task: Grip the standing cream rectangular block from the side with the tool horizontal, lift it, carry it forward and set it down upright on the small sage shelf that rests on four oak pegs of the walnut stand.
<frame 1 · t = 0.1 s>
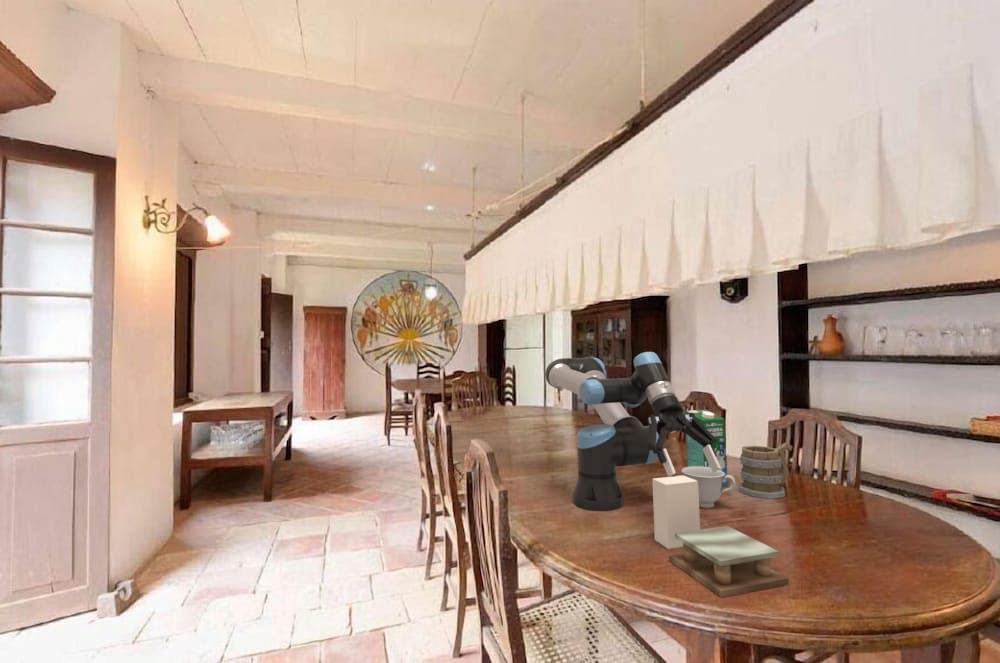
hand: (694, 472, 117), 15 cm above the table, tool tilted 35°, fingers open, 13 cm apart
teacup: (709, 506, 136), on the table
peg shelf: (725, 571, 96), on the table
tankard: (770, 491, 148), on the table
cream rectangular block: (677, 541, 112), on the table
milk carton: (707, 483, 159), on the table
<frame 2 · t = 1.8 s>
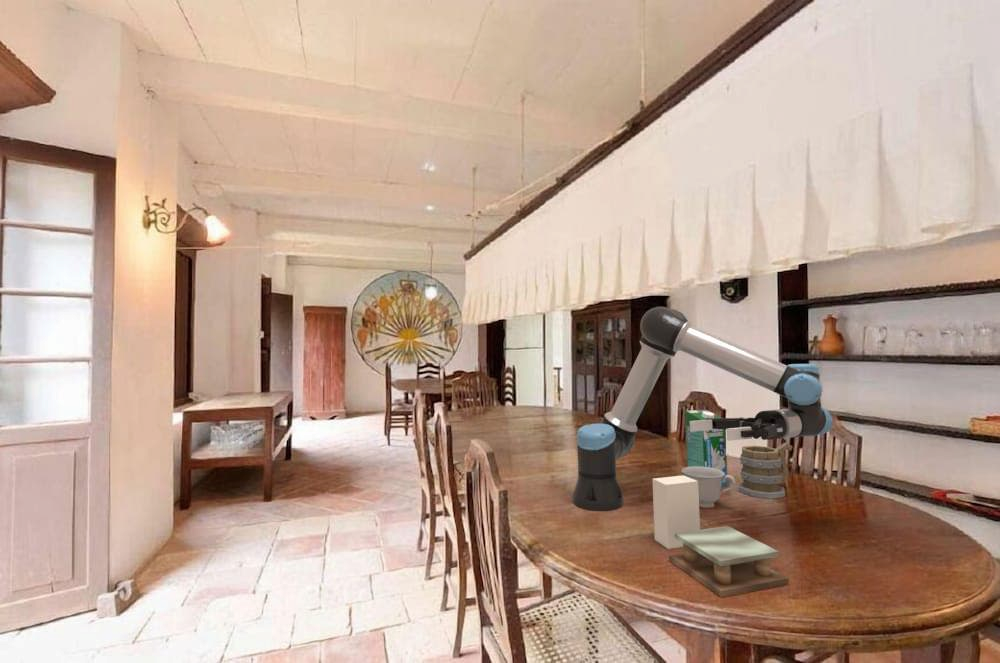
hand: (708, 430, 115), 26 cm above the table, tool horizontal, fingers open, 13 cm apart
nothing on the table moved.
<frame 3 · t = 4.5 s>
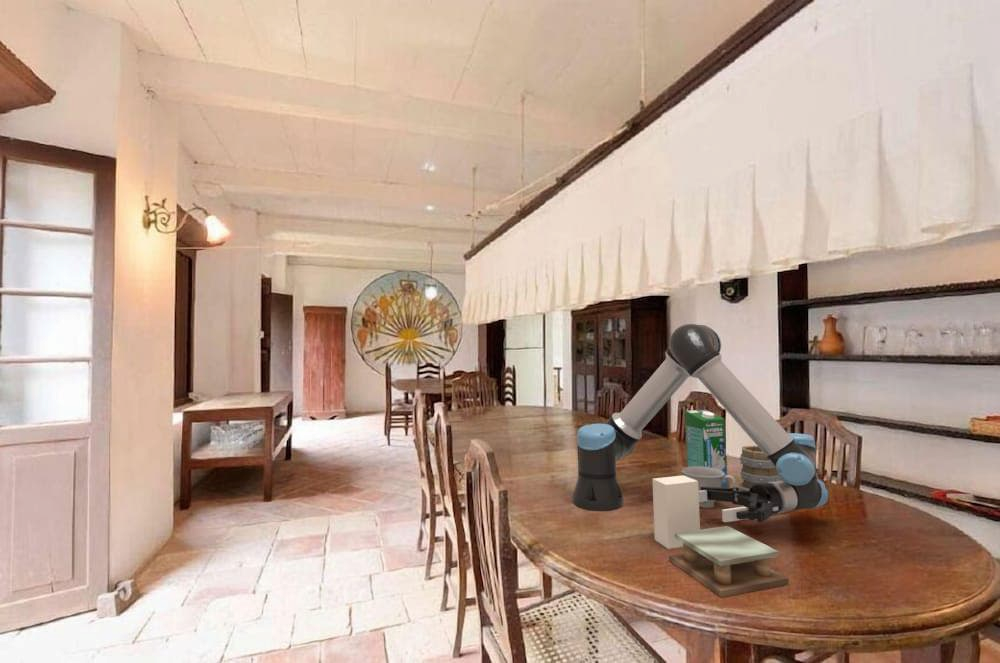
hand: (703, 506, 113), 8 cm above the table, tool horizontal, fingers open, 13 cm apart
nothing on the table moved.
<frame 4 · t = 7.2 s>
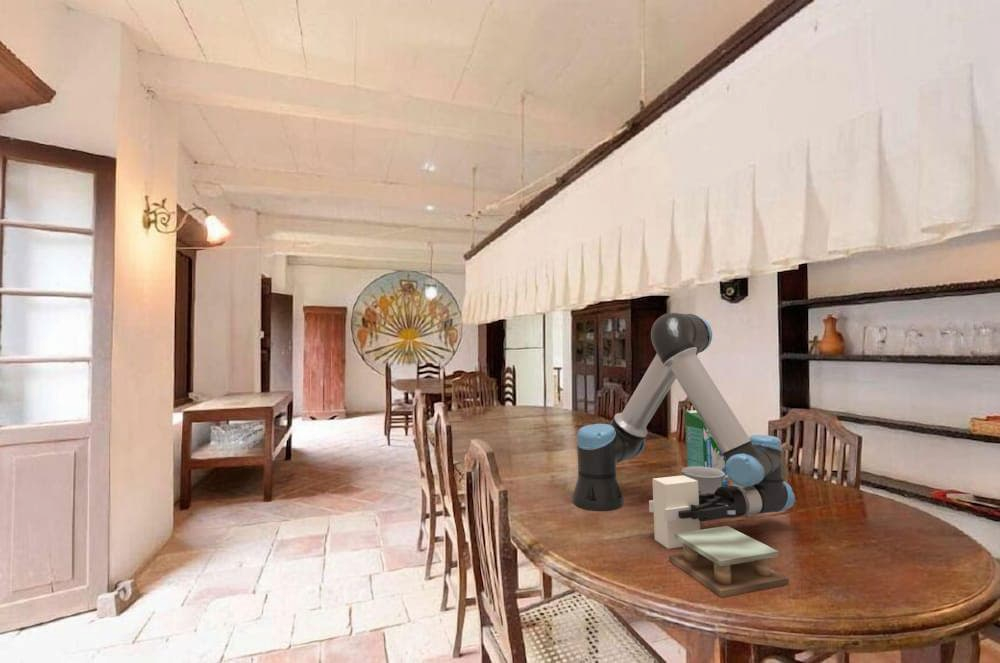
hand: (657, 510, 111), 8 cm above the table, tool horizontal, fingers closed on cream rectangular block, 5 cm apart
cream rectangular block: (677, 541, 112), on the table, touching gripper
everything else where it was.
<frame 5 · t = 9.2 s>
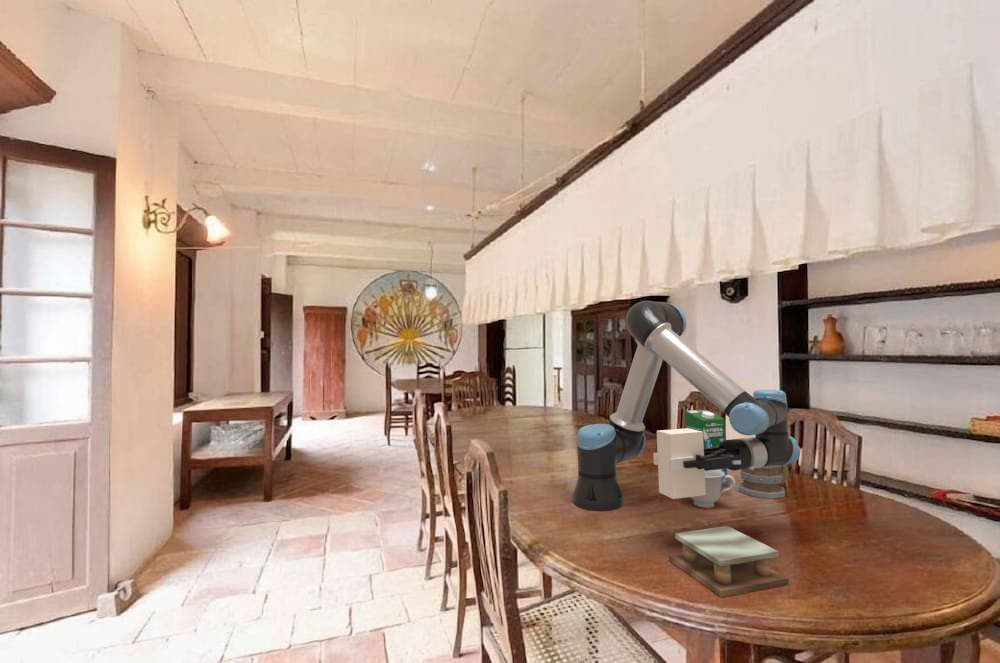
hand: (662, 461, 109), 20 cm above the table, tool horizontal, fingers closed on cream rectangular block, 5 cm apart
cream rectangular block: (682, 493, 110), point 12 cm above the table, touching gripper
everything else where it was.
when the fingers open (15 cm above the table, at t = 11.5 s): cream rectangular block drops 1 cm, resting on peg shelf.
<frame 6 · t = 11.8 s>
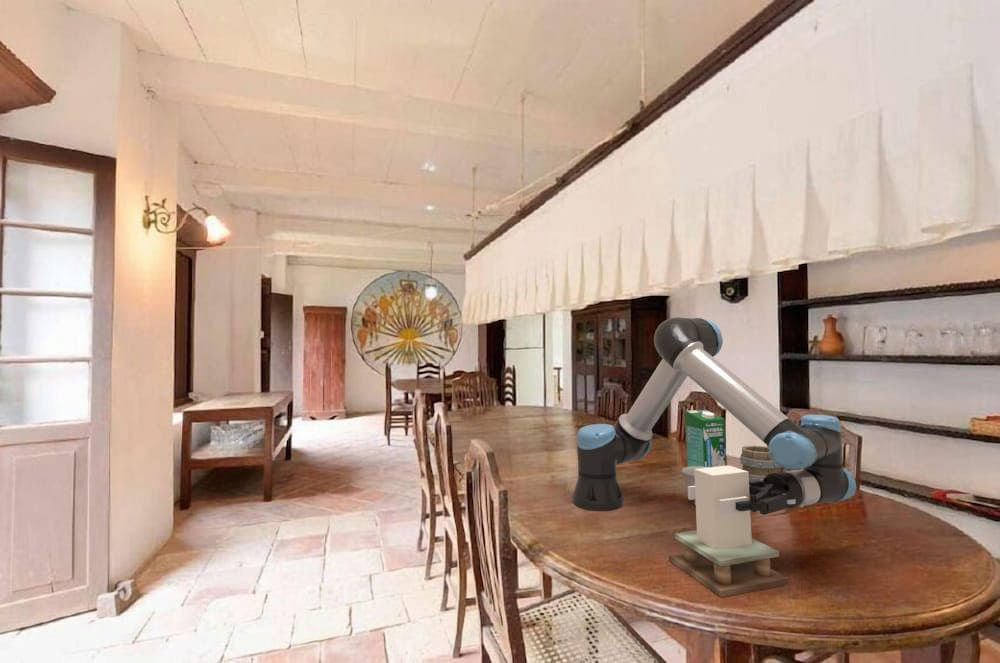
hand: (703, 499, 96), 15 cm above the table, tool horizontal, fingers open, 9 cm apart
cream rectangular block: (724, 541, 96), point 6 cm above the table, touching peg shelf
everything else where it was.
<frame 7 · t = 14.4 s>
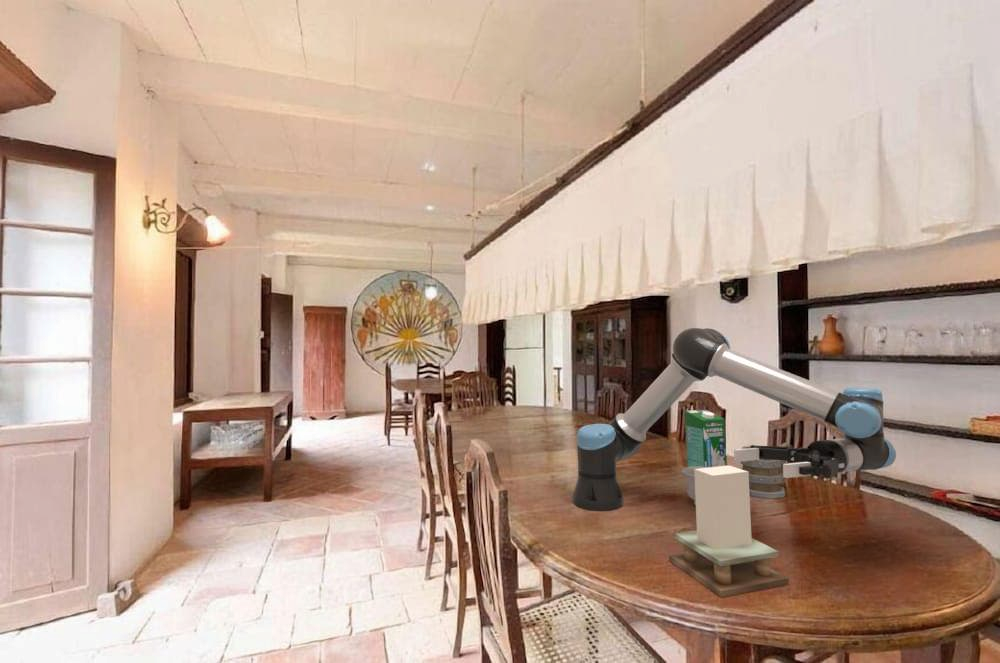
hand: (758, 462, 101), 22 cm above the table, tool horizontal, fingers open, 13 cm apart
nothing on the table moved.
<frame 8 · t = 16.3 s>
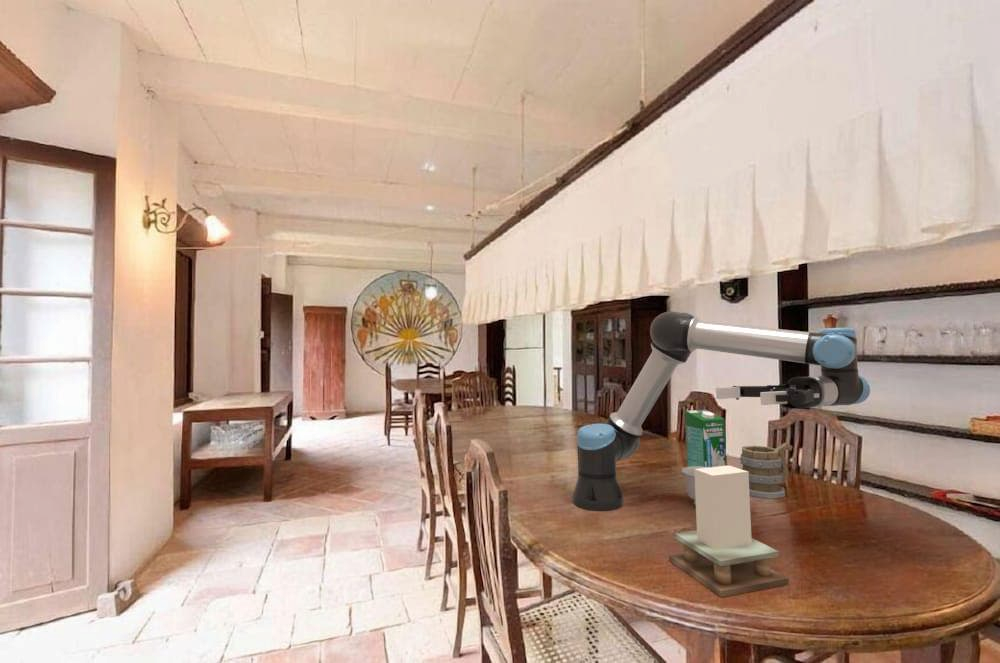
hand: (738, 395, 106), 36 cm above the table, tool horizontal, fingers open, 13 cm apart
nothing on the table moved.
at the end: cream rectangular block inside the target area on the peg shelf (0.1 cm from its centre), point 6.2 cm above the peg shelf's base; cream rectangular block tilted 0°; the gripper is holding nothing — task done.
